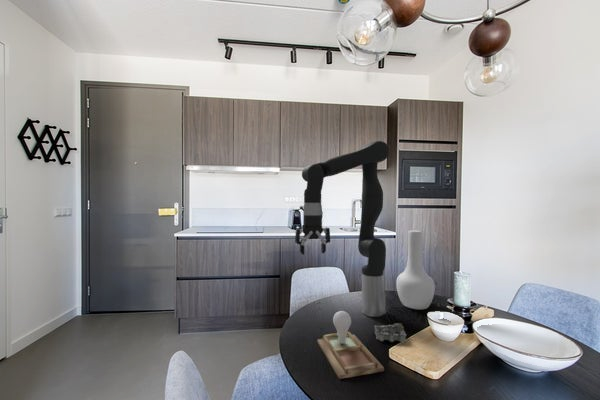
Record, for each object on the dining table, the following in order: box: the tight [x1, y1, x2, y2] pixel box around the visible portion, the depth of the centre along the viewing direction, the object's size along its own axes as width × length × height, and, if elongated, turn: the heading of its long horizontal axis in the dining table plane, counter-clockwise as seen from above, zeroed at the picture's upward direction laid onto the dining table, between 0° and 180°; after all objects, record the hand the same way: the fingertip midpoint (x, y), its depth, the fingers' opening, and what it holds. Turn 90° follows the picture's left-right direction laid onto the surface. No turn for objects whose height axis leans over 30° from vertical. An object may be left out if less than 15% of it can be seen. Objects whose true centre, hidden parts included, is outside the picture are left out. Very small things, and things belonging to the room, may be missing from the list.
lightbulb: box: [332, 310, 352, 344], centre depth 92 cm, size 6×6×11 cm
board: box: [316, 331, 385, 380], centre depth 88 cm, size 14×20×2 cm
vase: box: [396, 229, 436, 310], centre depth 128 cm, size 17×17×35 cm
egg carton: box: [373, 322, 408, 343], centre depth 99 cm, size 11×8×4 cm
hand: (312, 253), depth 111 cm, fingers open, 8 cm apart
